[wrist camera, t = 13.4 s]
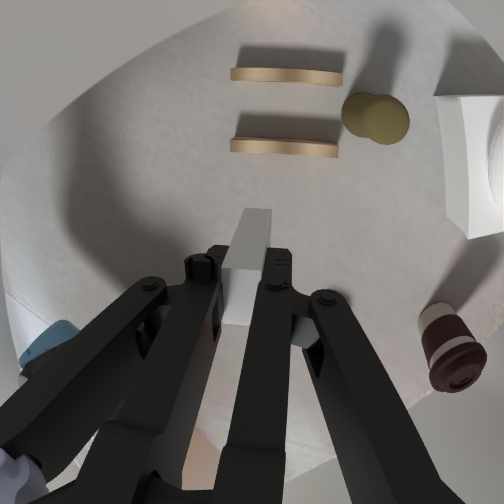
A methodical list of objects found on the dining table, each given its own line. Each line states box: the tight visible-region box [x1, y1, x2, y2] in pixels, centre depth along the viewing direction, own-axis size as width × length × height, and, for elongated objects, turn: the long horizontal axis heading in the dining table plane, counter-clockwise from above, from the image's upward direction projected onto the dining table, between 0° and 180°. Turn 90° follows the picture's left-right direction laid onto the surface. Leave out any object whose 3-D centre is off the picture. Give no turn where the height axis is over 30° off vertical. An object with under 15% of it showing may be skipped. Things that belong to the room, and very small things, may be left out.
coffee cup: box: [418, 302, 487, 393], centre depth 42 cm, size 10×10×15 cm
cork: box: [341, 92, 410, 145], centre depth 30 cm, size 6×6×11 cm
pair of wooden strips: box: [230, 68, 343, 158], centre depth 35 cm, size 13×10×3 cm
